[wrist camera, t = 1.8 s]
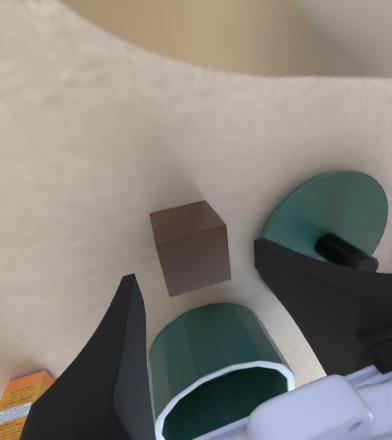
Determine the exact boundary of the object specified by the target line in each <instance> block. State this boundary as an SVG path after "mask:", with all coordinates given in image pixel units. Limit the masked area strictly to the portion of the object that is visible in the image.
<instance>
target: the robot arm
mask: <svg viewBox="0 0 392 440" xmlns="http://www.w3.org/2000/svg"><path fill="white" fill-rule="evenodd" d="M254 254H255V268H256V270H257V271H258V273H259V275H260V276H261V278H262V280H263V281H264V282H265V284H266V285H267V286H268V287H269V289H270V290H271V291H272V292H273V294H274V295H275V296H276V297H277V299H278V300H279V301H280V302H281V303H282V305H283V306H284V307H285V308H286V310H287V311H288V312H289V314H290V315H291V317H292V318H293V320H294V321H295V323H296V324H297V326H298V327H299V329H300V330H301V332H302V334H303V335H304V337H305V338H306V340H307V342H308V343H309V345H310V346H311V348H312V350H313V352H314V353H315V355H316V357H317V358H318V360H319V362H320V364H321V365H322V367H323V369H324V371H325V373H326V374H327V376H325V377H323V378H320V379H318V380H315V381H313V382H310V383H308V384H306V385H303V386H301V387H298V388H296V389H293V390H291V391H288V392H286V393H284V394H281V395H279V396H276V397H274V398H271V399H269V400H268V401H266V402H264V403H262V404H260V405H259V406H258V407H257V408H256V409H255V410H254V411H253V412H252V413H251V414H250V416H248V417H246V418H243V419H241V420H238V421H236V422H233V423H231V424H229V425H226V426H224V427H221V428H219V429H217V430H214V431H212V432H209V433H207V434H205V435H202V436H200V437H197V438H195V439H192V440H392V274H386V273H377V272H370V271H364V270H358V269H353V268H348V267H344V266H339V265H335V264H332V263H328V262H325V261H321V260H318V259H315V258H312V257H309V256H307V255H304V254H301V253H299V252H296V251H294V250H291V249H289V248H287V247H285V246H282V245H280V244H278V243H276V242H273V241H271V240H269V239H266V238H260V239H256V240H254ZM19 440H156V435H155V428H154V420H153V412H152V405H151V396H150V388H149V379H148V370H147V357H146V315H145V307H144V300H143V297H142V294H141V291H140V288H139V285H138V282H137V279H136V277H135V274H130V275H126V276H123V277H122V279H121V282H120V284H119V287H118V289H117V291H116V294H115V296H114V298H113V300H112V302H111V304H110V306H109V308H108V310H107V312H106V314H105V316H104V317H103V319H102V321H101V323H100V324H99V326H98V328H97V329H96V331H95V332H94V334H93V335H92V337H91V338H90V340H89V341H88V342H87V344H86V345H85V347H84V348H83V349H82V351H81V352H80V353H79V354H78V356H77V357H76V358H75V359H74V361H73V362H72V363H71V364H70V365H69V367H68V368H67V369H66V370H65V371H64V372H63V373H62V374H61V376H60V377H59V378H58V379H57V380H56V381H55V382H54V383H53V384H52V385H51V386H50V387H49V388H48V389H47V390H46V391H45V392H44V393H43V394H42V395H41V396H40V397H39V398H38V399H37V400H36V401H35V402H34V403H33V404H32V406H31V408H30V411H29V413H28V415H27V418H26V420H25V423H24V426H23V429H22V432H21V435H20V438H19Z"/></svg>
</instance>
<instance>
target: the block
mask: <svg viewBox="0 0 392 440" xmlns="http://www.w3.org/2000/svg"><path fill="white" fill-rule="evenodd" d="M150 219H151V224H152V229H153V234H154V239H155V244H156V248H157V252H158V255H159V259H160V263H161V267H162V270H163V274H164V278H165V282H166V286H167V289H168V293H169V297H174V296H177V295H180V294H184V293H187V292H190V291H194V290H197V289H200V288H204V287H207V286H210V285H214V284H217V283H220V282H224V281H227V280H230V279H231V271H230V260H229V250H228V239H227V228H226V224H225V223H224V222H223V220H222V219H221V218H220V217H219V216H218V215H217V213H216V212H215V211H214V210H213V209H212V207H211V206H210V205H209V204H208V203H207V202H206V201H201V202H196V203H192V204H188V205H184V206H179V207H175V208H171V209H167V210H162V211H158V212H154V213H150Z"/></svg>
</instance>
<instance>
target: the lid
mask: <svg viewBox="0 0 392 440" xmlns="http://www.w3.org/2000/svg"><path fill="white" fill-rule="evenodd" d="M387 217H388V203H387V197H386V194H385V192H384V190H383V188H382V186H381V185H380V184H379V183H378V182H377V180H375V179H374V178H372V177H371V176H369V175H367V174H365V173H361V172H357V171H353V170H339V171H333V172H329V173H325V174H322V175H320V176H317V177H315V178H313V179H311V180H309V181H308V182H306V183H304V184H303V185H301V186H300V187H298V188H297V189H296V190H294V191H293V192H292V193H291V194H290V195H289V196H287V197H286V198H285V200H284V201H283V202H282V203H281V204H280V205H279V206H278V207H277V209H276V210H275V211H274V212H273V214H272V215H271V217H270V218H269V220H268V222H267V223H266V225H265V227H264V229H263V231H262V234H261V237H260V238H266V239H269V240H271V241H273V242H276V243H278V244H280V245H282V246H285V247H287V248H289V249H291V250H294V251H296V252H299V253H301V254H304V255H307V256H309V257H312V258H315V259H318V260H321V261H325V262H328V263H332V264H335V265H339V266H344V267H348V268H353V269H358V270H364V271H370V272H376V271H377V269H378V265H379V263H378V260H377V259H376V258H374V257H373V256H372V254H373V253H374V251H375V249H376V248H377V246H378V244H379V242H380V240H381V238H382V236H383V233H384V230H385V227H386V223H387ZM258 275H259V273H258ZM259 277H260V280H261V281H262V283H263V284H264V286H265V287H266V288H267V289H268V290H269V291H270V292H271V293H272V294H273V292H272V291H271V290H270V289H269V287H268V286H267V285H266V284H265V282H264V281H263V280H262V278H261V276H260V275H259Z"/></svg>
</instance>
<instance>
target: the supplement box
mask: <svg viewBox="0 0 392 440" xmlns="http://www.w3.org/2000/svg"><path fill="white" fill-rule="evenodd" d="M54 382H55V381H54V380H53V379H52V378H51V376H50V375H49V374H48V372H47V371H46V370H43V371H39V372H35V373H32V374H29V375H26V376H23V377H20V378H17V379H14V380H11V381H9V383H8V385H7V388H6V390H5V392H4V394H3V396H2V399H1V401H0V440H19V438H20V435H21V432H22V429H23V426H24V423H25V420H26V418H27V415H28V413H29V411H30V408H31V406H32V404H33V403H34V402H35V401H36V400H37V399H38V398H39V397H40V396H41V395H42V394H43V393H44V392H45V391H46V390H47V389H48V388H49V387H50V386H51V385H52V384H53V383H54Z"/></svg>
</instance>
